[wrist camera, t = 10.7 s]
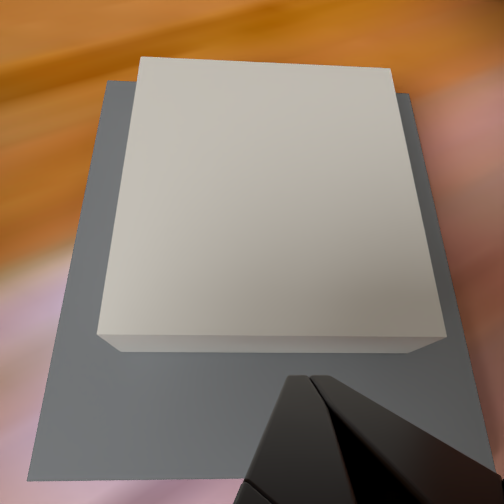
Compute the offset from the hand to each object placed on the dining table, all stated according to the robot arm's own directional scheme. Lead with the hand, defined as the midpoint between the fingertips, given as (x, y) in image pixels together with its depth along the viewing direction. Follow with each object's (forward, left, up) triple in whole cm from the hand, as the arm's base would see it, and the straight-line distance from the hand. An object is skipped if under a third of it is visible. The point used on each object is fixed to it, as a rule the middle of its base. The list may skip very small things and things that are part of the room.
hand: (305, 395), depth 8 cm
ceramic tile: (+2, -1, -6) cm, 6 cm away
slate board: (+6, -3, -8) cm, 11 cm away
